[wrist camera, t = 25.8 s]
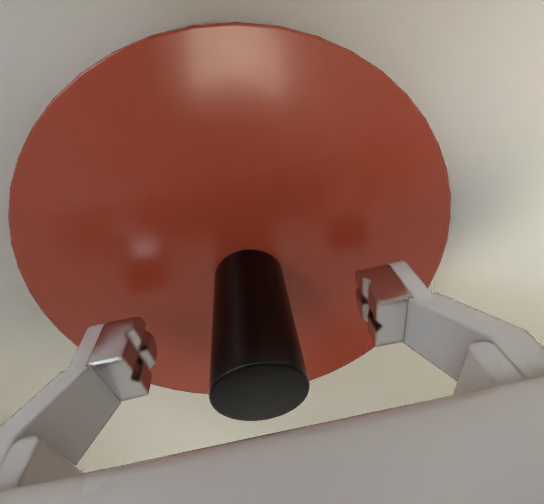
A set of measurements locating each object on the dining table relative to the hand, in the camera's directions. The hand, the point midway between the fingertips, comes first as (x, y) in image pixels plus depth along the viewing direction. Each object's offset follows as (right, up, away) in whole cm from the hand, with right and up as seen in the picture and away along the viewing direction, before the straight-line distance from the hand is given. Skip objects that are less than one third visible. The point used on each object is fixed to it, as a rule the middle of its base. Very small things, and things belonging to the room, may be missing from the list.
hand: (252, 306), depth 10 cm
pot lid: (0, +1, +1) cm, 2 cm away
